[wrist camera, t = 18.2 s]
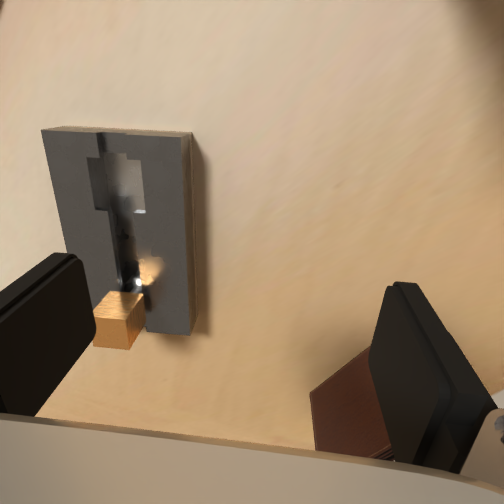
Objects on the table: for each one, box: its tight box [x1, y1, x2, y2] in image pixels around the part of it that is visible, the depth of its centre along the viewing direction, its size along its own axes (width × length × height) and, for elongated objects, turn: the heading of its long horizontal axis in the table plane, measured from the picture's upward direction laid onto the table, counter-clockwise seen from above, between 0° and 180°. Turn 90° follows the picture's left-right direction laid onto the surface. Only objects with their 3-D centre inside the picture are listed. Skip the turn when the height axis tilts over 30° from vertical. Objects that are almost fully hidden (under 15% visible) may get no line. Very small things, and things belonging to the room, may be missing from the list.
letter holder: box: [310, 346, 395, 461], centre depth 43 cm, size 10×20×14 cm, turn 142°
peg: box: [92, 274, 146, 350], centre depth 40 cm, size 4×4×10 cm
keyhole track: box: [41, 126, 198, 336], centre depth 40 cm, size 14×24×4 cm, turn 178°
